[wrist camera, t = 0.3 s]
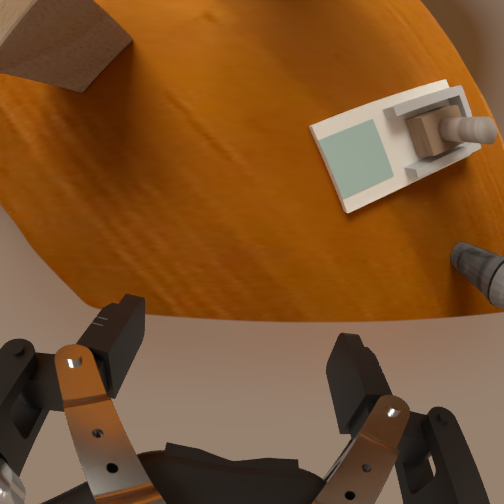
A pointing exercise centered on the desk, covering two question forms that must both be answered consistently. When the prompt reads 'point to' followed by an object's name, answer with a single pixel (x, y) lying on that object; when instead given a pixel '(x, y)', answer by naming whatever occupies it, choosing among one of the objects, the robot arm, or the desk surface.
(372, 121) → the docking tray
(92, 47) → the wooden block
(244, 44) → the desk surface
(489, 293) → the beverage cup
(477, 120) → the peg with base
